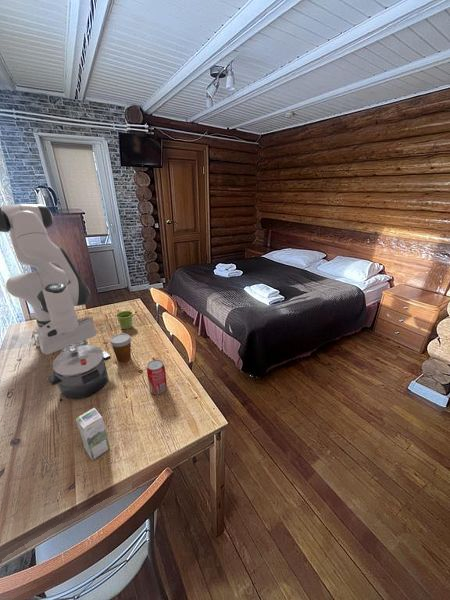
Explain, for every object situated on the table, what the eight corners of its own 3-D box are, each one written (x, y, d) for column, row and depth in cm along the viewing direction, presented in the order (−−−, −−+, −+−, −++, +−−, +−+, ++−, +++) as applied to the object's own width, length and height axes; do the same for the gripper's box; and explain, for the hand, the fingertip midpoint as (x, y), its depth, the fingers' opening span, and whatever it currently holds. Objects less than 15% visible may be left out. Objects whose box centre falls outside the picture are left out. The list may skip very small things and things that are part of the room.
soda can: (170, 387, 109) (168, 362, 103) (158, 398, 103) (155, 372, 98) (158, 381, 112) (155, 356, 107) (145, 391, 106) (142, 366, 101)
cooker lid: (45, 360, 106) (43, 353, 104) (90, 342, 118) (88, 335, 116) (64, 384, 94) (61, 376, 92) (111, 361, 106) (110, 354, 105)
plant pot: (114, 329, 152) (112, 316, 148) (124, 322, 160) (122, 309, 157) (128, 332, 150) (126, 318, 146) (137, 324, 158) (136, 311, 154)
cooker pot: (48, 387, 108) (41, 366, 103) (102, 362, 123) (97, 343, 119) (65, 412, 96) (58, 390, 92) (122, 381, 112) (118, 360, 107)
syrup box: (102, 438, 86) (93, 406, 81) (110, 449, 83) (102, 416, 77) (84, 450, 83) (74, 417, 77) (92, 462, 79) (82, 428, 73)
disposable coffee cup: (125, 366, 121) (121, 345, 116) (109, 362, 124) (104, 341, 119) (138, 355, 129) (135, 334, 124) (122, 351, 132) (118, 331, 127)
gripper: (89, 312, 111) (95, 340, 116) (33, 330, 97) (43, 360, 102) (95, 317, 107) (101, 345, 113) (38, 336, 93) (49, 367, 98)
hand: (73, 352), depth 107 cm, fingers closed, pressing on cooker lid
